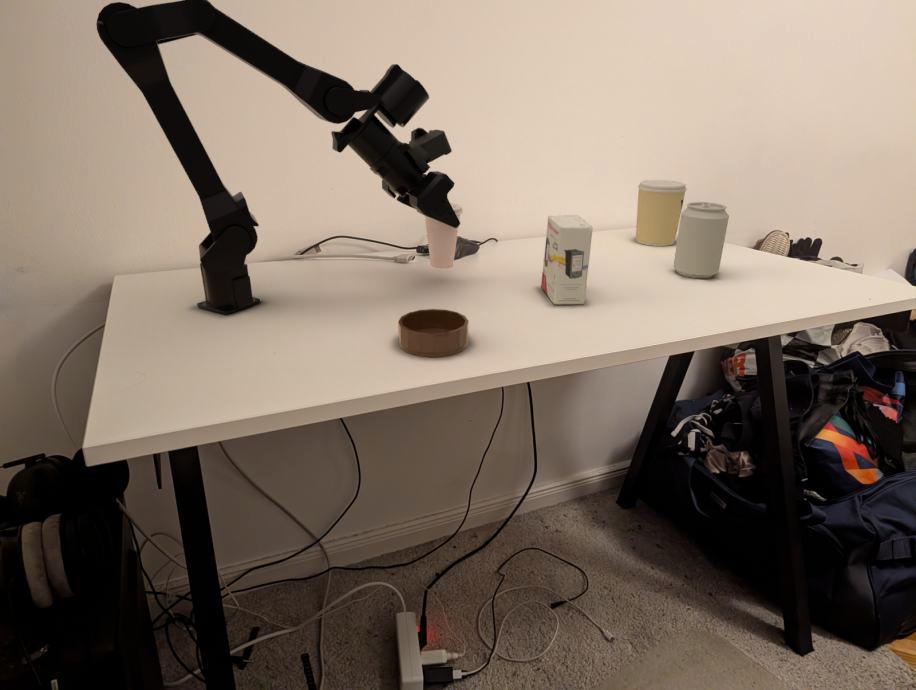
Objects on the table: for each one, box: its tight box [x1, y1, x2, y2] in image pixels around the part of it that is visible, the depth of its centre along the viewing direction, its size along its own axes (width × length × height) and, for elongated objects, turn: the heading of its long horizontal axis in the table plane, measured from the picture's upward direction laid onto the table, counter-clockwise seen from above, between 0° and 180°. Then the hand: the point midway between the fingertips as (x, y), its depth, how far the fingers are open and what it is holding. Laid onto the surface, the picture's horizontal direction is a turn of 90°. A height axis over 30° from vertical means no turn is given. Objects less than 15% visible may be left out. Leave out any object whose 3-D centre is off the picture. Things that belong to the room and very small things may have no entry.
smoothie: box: [424, 202, 463, 269], centre depth 97 cm, size 6×6×14 cm
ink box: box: [540, 214, 593, 305], centre depth 91 cm, size 9×5×12 cm, turn 6°
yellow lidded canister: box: [635, 179, 688, 247], centre depth 125 cm, size 9×9×12 cm
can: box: [672, 201, 730, 279], centre depth 103 cm, size 8×8×12 cm
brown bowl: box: [397, 308, 470, 358], centre depth 76 cm, size 9×9×3 cm
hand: (450, 221), depth 97 cm, fingers closed on smoothie, 6 cm apart
